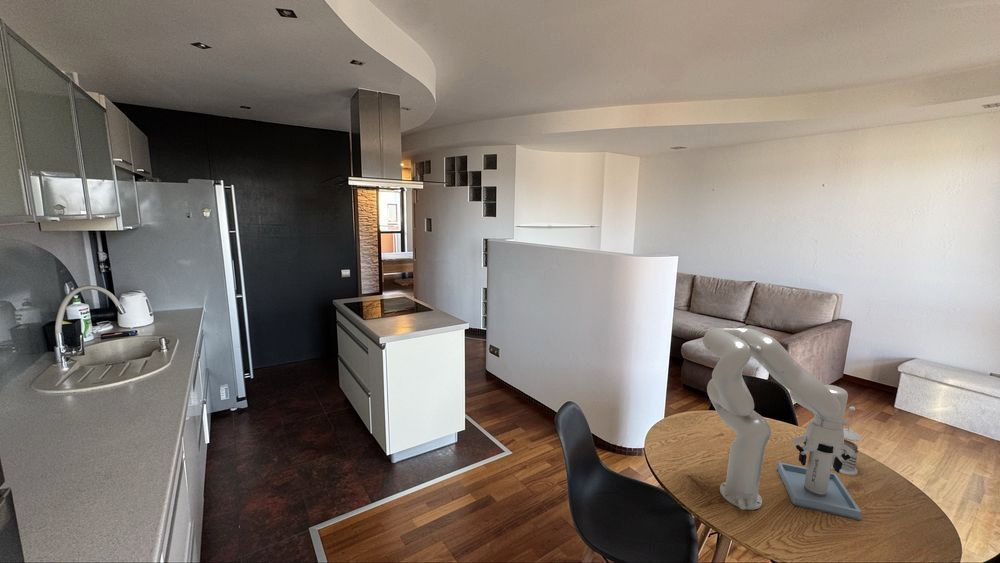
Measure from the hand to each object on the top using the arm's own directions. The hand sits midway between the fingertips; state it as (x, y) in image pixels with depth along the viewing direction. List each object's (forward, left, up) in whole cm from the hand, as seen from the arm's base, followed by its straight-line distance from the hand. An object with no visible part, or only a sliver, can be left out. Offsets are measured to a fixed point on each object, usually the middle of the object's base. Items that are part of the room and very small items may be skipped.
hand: (818, 466), depth 138 cm
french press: (+21, -14, -10) cm, 28 cm away
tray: (0, 0, -10) cm, 10 cm away
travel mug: (0, 0, -10) cm, 10 cm away
